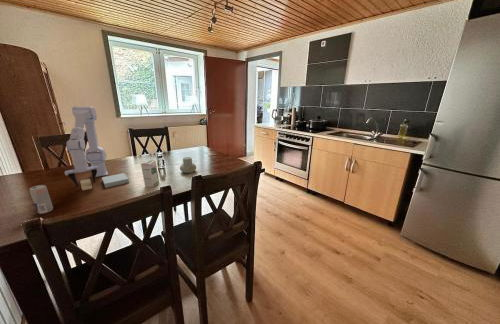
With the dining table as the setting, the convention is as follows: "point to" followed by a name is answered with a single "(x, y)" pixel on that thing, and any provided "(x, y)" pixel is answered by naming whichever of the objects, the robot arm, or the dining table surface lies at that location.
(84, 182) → the birch cube
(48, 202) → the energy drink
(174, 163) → the dining table surface
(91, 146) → the robot arm
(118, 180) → the grey-blue block
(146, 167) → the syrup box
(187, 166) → the air freshener
